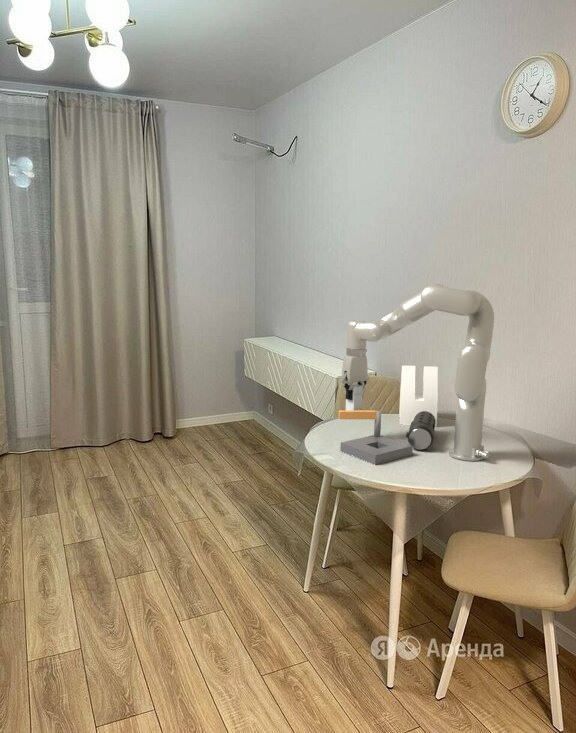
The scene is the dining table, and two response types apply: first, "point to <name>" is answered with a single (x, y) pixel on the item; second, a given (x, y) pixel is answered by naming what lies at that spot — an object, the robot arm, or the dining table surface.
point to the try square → (363, 417)
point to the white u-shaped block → (418, 394)
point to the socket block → (376, 449)
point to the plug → (355, 398)
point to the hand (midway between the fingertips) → (354, 398)
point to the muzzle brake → (421, 431)
